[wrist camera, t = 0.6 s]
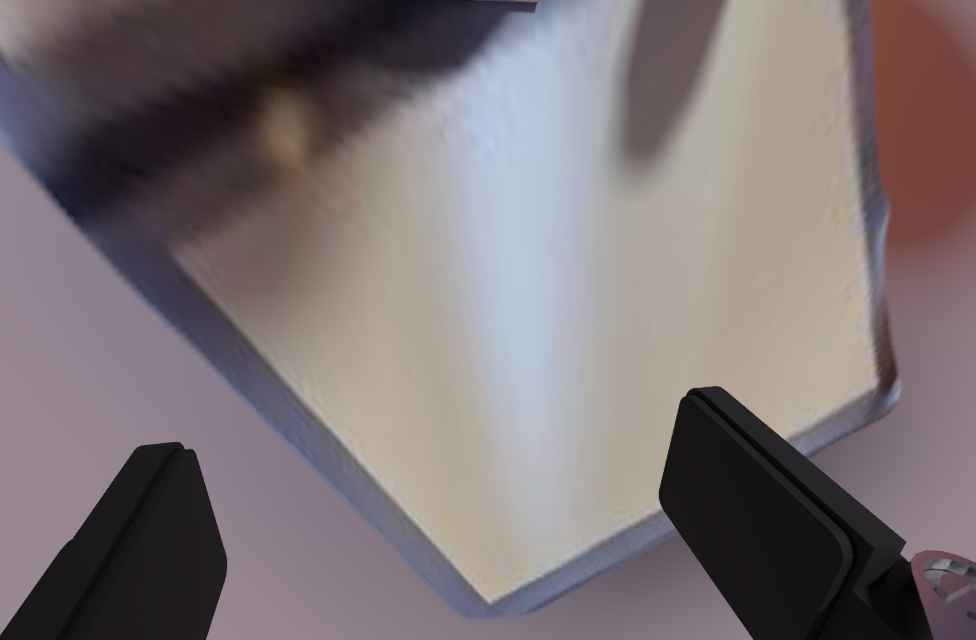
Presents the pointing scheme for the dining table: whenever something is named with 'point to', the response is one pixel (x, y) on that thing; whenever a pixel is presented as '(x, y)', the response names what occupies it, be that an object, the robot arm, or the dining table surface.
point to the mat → (523, 0)
